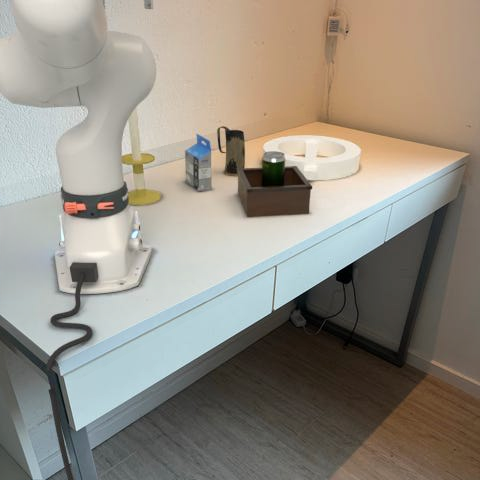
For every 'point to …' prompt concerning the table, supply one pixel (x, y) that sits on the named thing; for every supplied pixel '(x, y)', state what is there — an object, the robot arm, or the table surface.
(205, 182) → the label tape box
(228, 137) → the mug
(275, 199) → the brown open box
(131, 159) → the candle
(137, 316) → the table surface
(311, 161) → the white circle with bar
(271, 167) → the beer can
